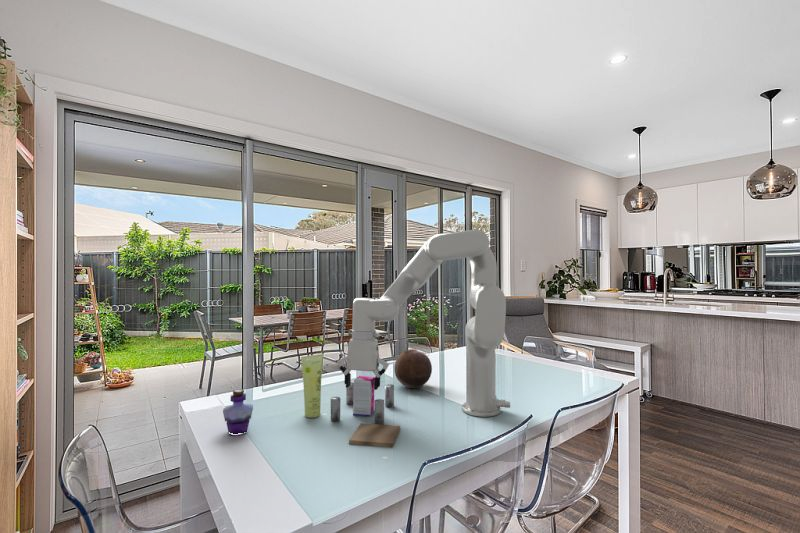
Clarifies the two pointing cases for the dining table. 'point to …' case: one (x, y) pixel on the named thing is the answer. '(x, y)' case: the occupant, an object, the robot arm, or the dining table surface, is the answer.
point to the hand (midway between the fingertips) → (362, 387)
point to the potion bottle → (238, 413)
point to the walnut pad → (375, 435)
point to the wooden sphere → (413, 368)
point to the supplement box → (363, 396)
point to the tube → (312, 384)
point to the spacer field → (377, 404)
